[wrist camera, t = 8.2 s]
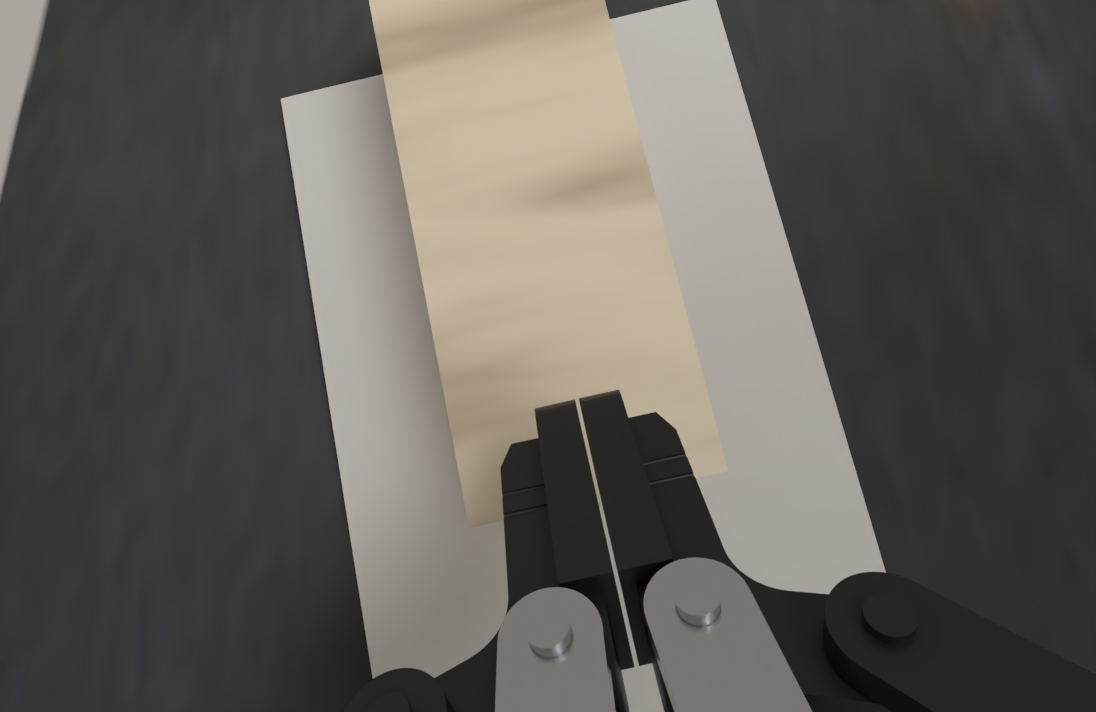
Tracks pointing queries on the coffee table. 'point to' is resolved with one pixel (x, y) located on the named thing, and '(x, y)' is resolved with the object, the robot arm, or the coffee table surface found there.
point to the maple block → (535, 227)
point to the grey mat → (715, 319)
